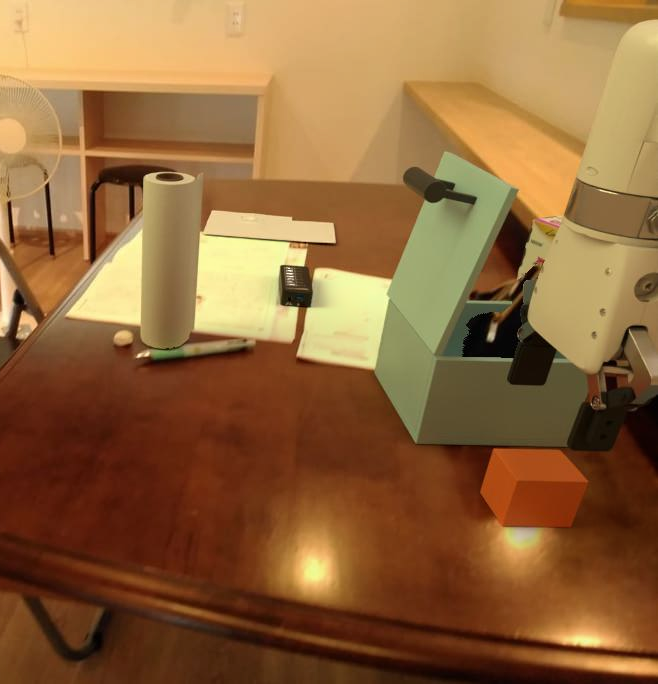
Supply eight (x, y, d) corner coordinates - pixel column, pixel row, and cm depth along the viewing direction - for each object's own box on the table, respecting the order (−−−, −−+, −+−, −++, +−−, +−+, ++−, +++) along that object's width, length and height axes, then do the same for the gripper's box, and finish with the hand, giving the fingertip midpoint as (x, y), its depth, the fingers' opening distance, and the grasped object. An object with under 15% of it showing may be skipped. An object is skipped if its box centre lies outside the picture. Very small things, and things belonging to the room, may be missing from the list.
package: (544, 493, 63) (560, 449, 61) (570, 527, 59) (589, 481, 57) (479, 492, 63) (493, 448, 61) (501, 526, 59) (517, 480, 57)
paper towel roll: (139, 349, 87) (143, 181, 77) (140, 328, 92) (143, 169, 82) (196, 351, 87) (207, 183, 77) (194, 330, 92) (203, 170, 82)
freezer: (502, 375, 83) (524, 301, 78) (568, 447, 70) (599, 363, 66) (373, 373, 83) (388, 298, 78) (415, 444, 70) (436, 359, 65)
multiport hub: (306, 279, 109) (308, 266, 108) (311, 307, 100) (313, 292, 99) (278, 277, 110) (280, 264, 109) (280, 305, 100) (282, 290, 99)
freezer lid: (451, 152, 71) (398, 140, 70) (519, 189, 58) (455, 174, 57) (392, 295, 78) (344, 285, 78) (441, 356, 65) (383, 344, 65)
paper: (202, 236, 127) (202, 230, 127) (208, 210, 142) (208, 205, 142) (340, 245, 124) (340, 240, 124) (331, 218, 139) (332, 213, 139)
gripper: (779, 254, 41) (670, 482, 49) (607, 183, 57) (545, 364, 64) (655, 250, 41) (565, 478, 49) (516, 179, 56) (465, 362, 64)
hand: (554, 413), depth 57 cm, fingers open, 9 cm apart
